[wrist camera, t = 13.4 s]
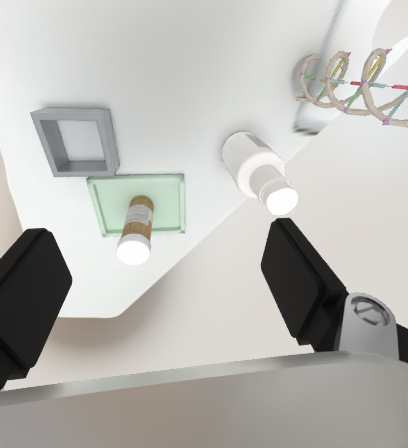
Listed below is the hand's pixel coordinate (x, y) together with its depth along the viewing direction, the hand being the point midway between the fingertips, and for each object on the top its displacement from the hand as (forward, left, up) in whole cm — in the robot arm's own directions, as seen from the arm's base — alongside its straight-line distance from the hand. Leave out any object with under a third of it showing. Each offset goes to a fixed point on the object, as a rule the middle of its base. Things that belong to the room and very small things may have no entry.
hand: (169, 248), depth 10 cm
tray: (+15, -6, -30) cm, 34 cm away
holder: (+3, -13, -30) cm, 33 cm away
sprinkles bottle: (+15, -6, -30) cm, 34 cm away
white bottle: (+5, +12, -31) cm, 33 cm away
